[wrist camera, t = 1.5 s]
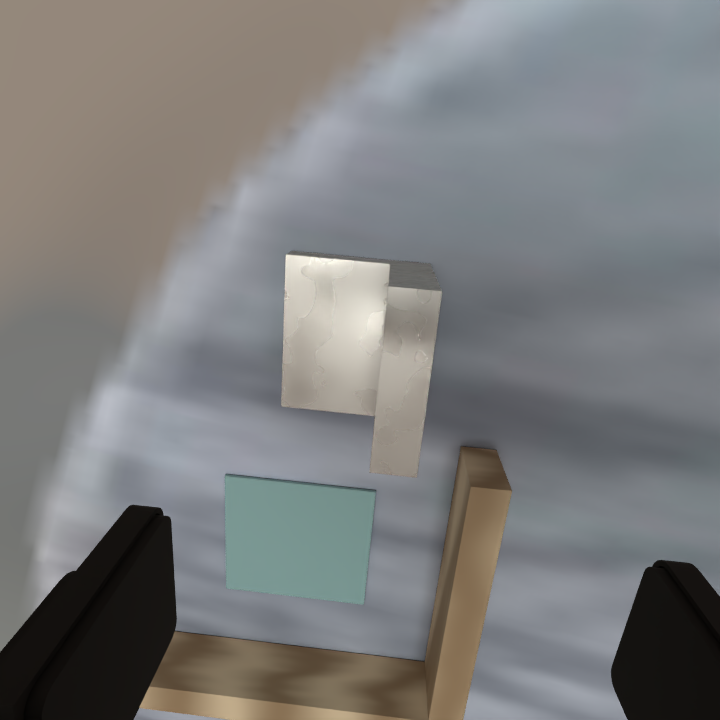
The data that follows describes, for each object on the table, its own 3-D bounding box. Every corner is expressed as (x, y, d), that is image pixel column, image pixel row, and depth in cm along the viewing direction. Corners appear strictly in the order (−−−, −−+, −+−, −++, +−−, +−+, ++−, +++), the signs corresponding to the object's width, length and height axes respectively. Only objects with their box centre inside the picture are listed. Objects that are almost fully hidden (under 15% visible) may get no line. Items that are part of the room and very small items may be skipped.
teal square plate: (375, 490, 30) (375, 492, 29) (363, 602, 32) (363, 604, 32) (225, 473, 30) (224, 475, 30) (227, 586, 33) (226, 588, 33)
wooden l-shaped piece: (496, 449, 28) (512, 491, 24) (450, 686, 34) (456, 748, 31) (114, 409, 29) (72, 443, 25) (136, 647, 35) (105, 703, 31)
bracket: (411, 407, 28) (416, 477, 21) (286, 395, 28) (253, 459, 21) (430, 263, 25) (442, 291, 18) (292, 250, 25) (255, 274, 19)
